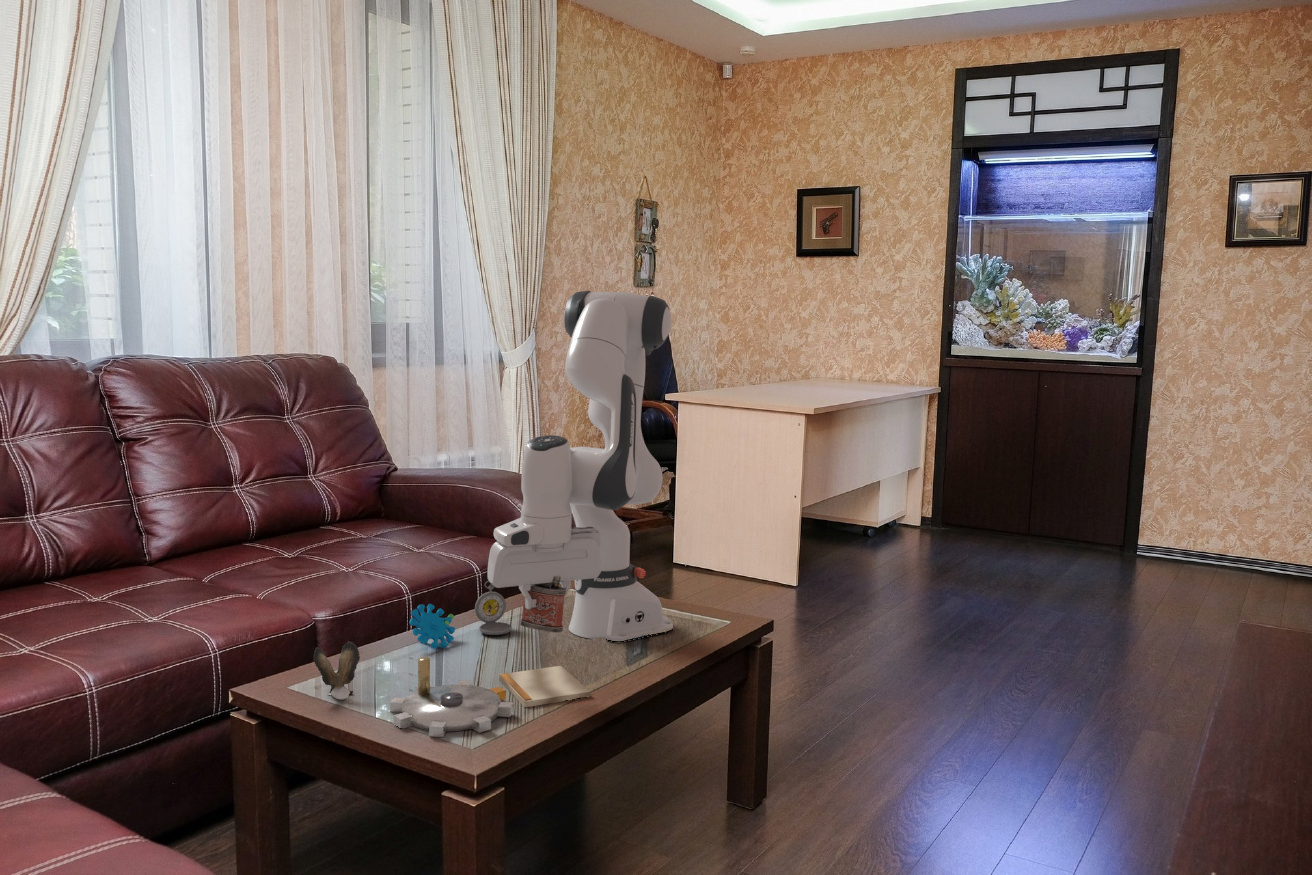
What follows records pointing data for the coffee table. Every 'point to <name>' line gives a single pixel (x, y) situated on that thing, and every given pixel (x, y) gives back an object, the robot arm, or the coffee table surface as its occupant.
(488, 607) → the pocket watch
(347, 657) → the eagle figurine
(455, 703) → the sprocket
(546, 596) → the lighter
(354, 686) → the coffee table surface
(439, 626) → the gear
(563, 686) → the pad
